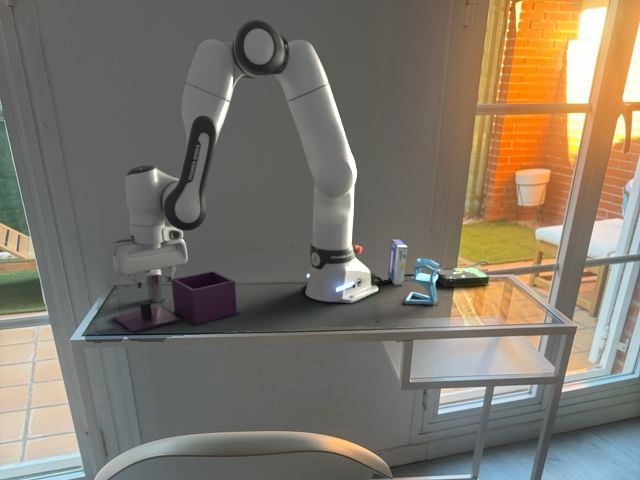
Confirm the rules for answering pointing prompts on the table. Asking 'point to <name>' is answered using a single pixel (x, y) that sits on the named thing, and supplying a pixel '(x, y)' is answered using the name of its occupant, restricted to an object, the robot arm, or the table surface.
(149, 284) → the milkshake
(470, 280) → the disk drive
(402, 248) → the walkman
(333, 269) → the robot arm
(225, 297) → the box
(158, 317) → the lid
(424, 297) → the chair
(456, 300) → the table surface
